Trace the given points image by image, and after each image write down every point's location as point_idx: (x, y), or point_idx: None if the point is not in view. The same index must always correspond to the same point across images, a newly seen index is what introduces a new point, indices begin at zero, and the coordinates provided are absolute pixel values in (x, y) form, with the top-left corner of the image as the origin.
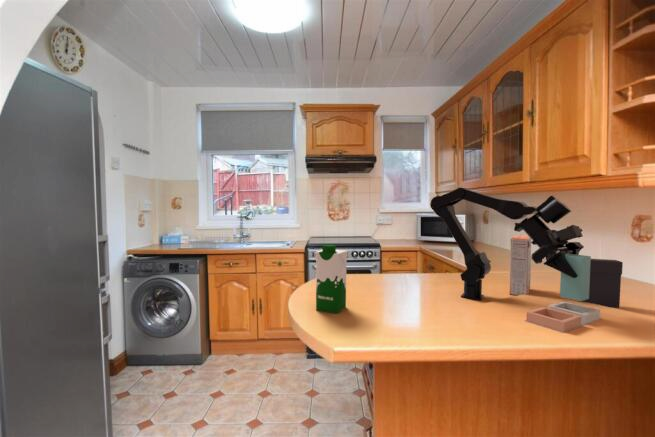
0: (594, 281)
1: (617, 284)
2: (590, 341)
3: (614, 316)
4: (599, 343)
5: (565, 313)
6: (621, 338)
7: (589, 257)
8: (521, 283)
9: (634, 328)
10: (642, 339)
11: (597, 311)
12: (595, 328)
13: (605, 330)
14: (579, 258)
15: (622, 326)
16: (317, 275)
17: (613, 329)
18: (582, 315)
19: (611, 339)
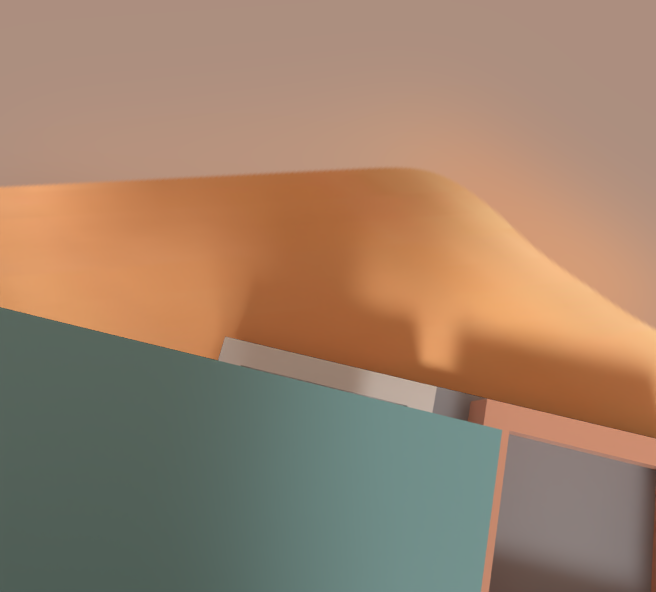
0: None
1: None
2: (616, 338)
3: (66, 306)
4: (607, 305)
5: (500, 489)
6: (443, 246)
7: (1, 308)
8: None
9: (230, 221)
10: (382, 186)
11: (261, 345)
12: (378, 349)
13: (373, 310)
14: (470, 517)
15: (236, 261)
16: None
17: (324, 285)
18: (432, 399)
19: (497, 275)
